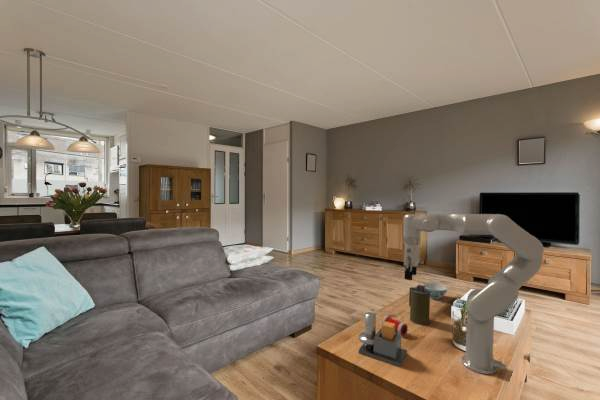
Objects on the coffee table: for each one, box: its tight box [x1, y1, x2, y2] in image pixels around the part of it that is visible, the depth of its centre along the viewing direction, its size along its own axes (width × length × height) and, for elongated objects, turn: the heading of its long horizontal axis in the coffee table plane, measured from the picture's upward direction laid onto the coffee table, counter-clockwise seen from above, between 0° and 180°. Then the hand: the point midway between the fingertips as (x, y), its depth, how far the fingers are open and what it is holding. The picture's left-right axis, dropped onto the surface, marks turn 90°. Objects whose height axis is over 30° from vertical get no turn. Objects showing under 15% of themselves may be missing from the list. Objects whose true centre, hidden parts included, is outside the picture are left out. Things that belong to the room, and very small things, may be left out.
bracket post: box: [358, 311, 408, 368], centre depth 128 cm, size 20×12×16 cm, turn 57°
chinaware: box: [423, 282, 448, 300], centre depth 199 cm, size 15×15×8 cm
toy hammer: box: [381, 314, 408, 337], centre depth 144 cm, size 23×12×6 cm, turn 125°
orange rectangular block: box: [381, 321, 396, 341], centre depth 127 cm, size 4×4×12 cm
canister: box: [408, 284, 431, 326], centre depth 162 cm, size 11×10×20 cm
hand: (410, 277), depth 134 cm, fingers open, 9 cm apart
